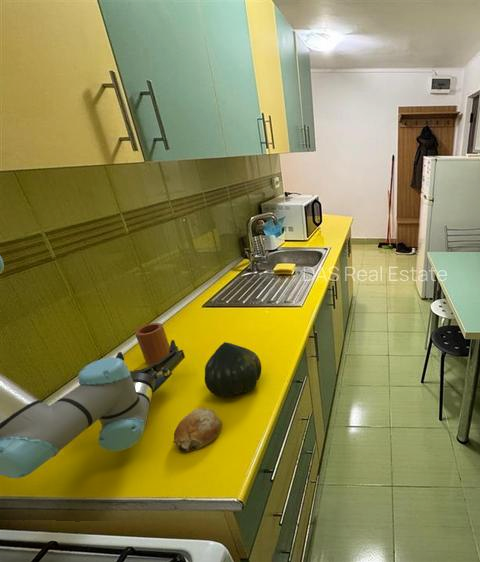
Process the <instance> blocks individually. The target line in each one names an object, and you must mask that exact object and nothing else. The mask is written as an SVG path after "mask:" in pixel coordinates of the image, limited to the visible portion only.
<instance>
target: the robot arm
mask: <svg viewBox="0 0 480 562" xmlns="http://www.w3.org/2000/svg"><path fill="white" fill-rule="evenodd" d="M4 270H5V264H4V259H3V257H2V256H1V255H0V274H2V273H3V272H4ZM169 346H170V349H169V354H168V355H167V356H165V357H164V358H162V359H161V360H159V361H158V362H157V363H155V364H151V365H150V366H149V365H147V367H144V368H141V369H135V370H132V371H133V372H130V371H131V370H130V368H128V365H127V364H126V363H125V357H124V355H123V353H122V351H120V352H117V354H116V356H115V357H105V358H100V359H98V360H95V361H92V362H90V363H89V364H87V365H85V366H84V367H83V368H82V369H81V370H80V371H79V373H78V374H77V378H78V384H79V385H78V386H77V387H75V388H73V389H72V390H71V391H70V392H68V393H66V394H65V395H63V396H62V397H61V398H59V399H58V400H56V401H54V402H53V403H52V404H50V405H49V404H47V403H45V402H44V401H42V400H41V399H40V398H39V397H36V396H35V395H34V394H32V393H30V392H29V390H26V389H25V388H24V387H22V386H20V385H19V384H18V383H16V382H15V381H13V380H12V379H11V378H9V377H8V376H6V375H5V374H3V373H2V372H0V475H1V476H3V477H7V478H11V479H21V478H25V477H27V476H29V475H31V474H32V473H33V472H34V471H36V470H37V469H38V468H40V467H41V466H43V465H44V464H45V463H47V461H49V460H50V459H53V457H56V456H57V455H58V454H59V452H60V451H62V450H63V449H64V448H65V447H67V446H68V445H69V444H70V443H71V442H73V441H74V440H75V439H76V438H77V437H78V436H79V435H81V434H82V433H84V432H85V431H86V430H87V429H88V428H90V427H91V426H92V425H94V423H96V422H98V421H99V423H100V425H101V428H100V430H99V432H98V439H97V442H98V445H99V446H100V447H101V448H102V449H104V450H106V451H109V452H120V451H124V450H127V449H130V448H132V447H133V446H135V445H136V444H137V443H138V442H139V441H140V440H141V438H142V436H143V433H144V430H145V429H146V427H147V418H148V414H149V410H150V405H151V401H152V397H153V393H154V392H153V389H154V385H155V380H156V379H157V378H158V377H162V376H164V378H167V379H169V378H170V377H171V375H172V374H171V372H172V373H173V371H174V370H175V369H176V368H177V367H178V366H179V365H180V363H181V362H182V361H184V359H185V358H186V356H185V352H184V350H183V349H180V350H179V346H178V345H176V341H175V339H171V340H170V343H169ZM170 374H171V375H170Z"/></svg>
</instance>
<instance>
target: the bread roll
mask: <svg viewBox="0 0 480 562" xmlns="http://www.w3.org/2000/svg"><path fill="white" fill-rule="evenodd" d="M222 423H223V422H222V421H221V420H220V418H219V416H218V415H217V414H216V413H215V411H213V410H212V409H211V408H206V407H203V408H196V409H193V410H192V411H190V412H189V413H188V414H187V415H185V416H184V417H183V418H182V419H181V420H180V421H179V423H178V424H177V426H176V427H175V430H174V433H173V443H174V444H175V447H176V448H177V450H178V451H179V452H185V451H186V452H192V451H193V452H194V451H197V450H200V449H202V448H204V447H206V446H207V445H209V444H211V443H212V442H213V441H214V440H215V439H216V438H217V437H218V435H219V434H220V432H221V430H222Z"/></svg>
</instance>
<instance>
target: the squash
mask: <svg viewBox="0 0 480 562" xmlns="http://www.w3.org/2000/svg"><path fill="white" fill-rule="evenodd" d="M262 369H263V368H262V362H261V360H260V358H259V356H258V355H257V354H256V352H254V351H252V350H251V349H249V348H246V347H243V346H240V345H237V344H234V343H231V342H226V341H224V342H223V343H222V344H220V345H219V346H218V348H217V349H215V351H214V353H212V355H211V356H210V357H209V359H208V360H207V361H206V364H205V365H204V383H205V386H206V388H207V390H208V391H209V392H210V393H211V394H212V395H214V396H216V397H218V398H219V397H220V398H221V397H225V398H231V397H232V396H234V395H240V394H241V393H242V392H246V393H247V392H251V391H253V390H254V389H255V388H256V385H257V382H258V381H259V379H260V378H261V375H262Z"/></svg>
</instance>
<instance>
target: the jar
mask: <svg viewBox="0 0 480 562" xmlns="http://www.w3.org/2000/svg"><path fill="white" fill-rule="evenodd" d="M134 335H135V338H136V340H137V342H138V345H139V348H140V351H141V354H142V356H143V359H144V361H145V363H146V365H147V366H150V365H151V364H155V363H157V362H158V361H159V360H161V359H162V358H164V357H165V356H167V355H168V354H169V349H170V343H169V339H168V337H167V334H166V331H165V328H164V325H163V323H159V322H153V323H148V324H145V325H141V326H140V327H139V328H136V330H135V332H134Z"/></svg>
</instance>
